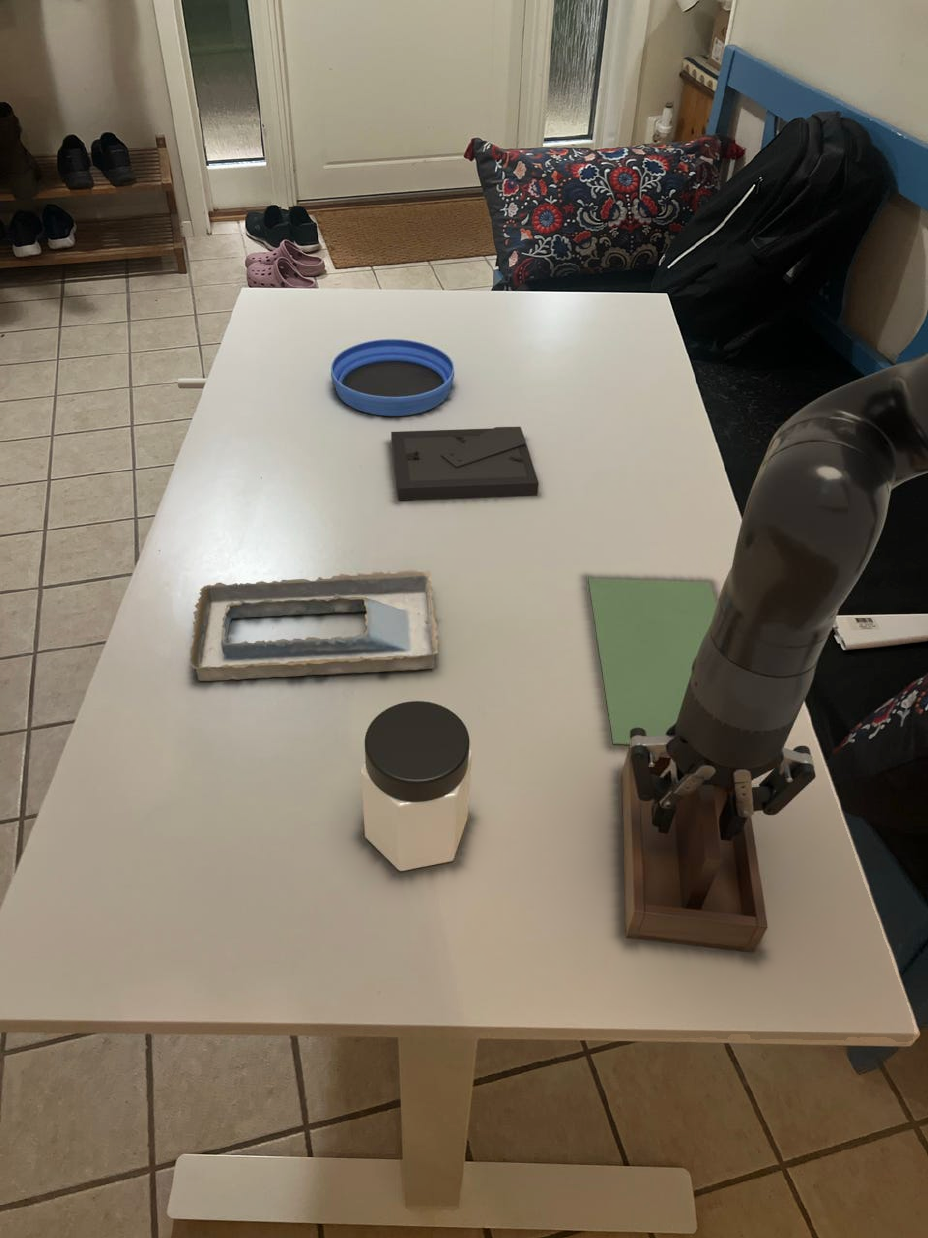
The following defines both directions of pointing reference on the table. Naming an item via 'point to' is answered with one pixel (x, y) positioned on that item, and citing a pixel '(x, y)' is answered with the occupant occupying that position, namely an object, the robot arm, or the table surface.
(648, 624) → the mat
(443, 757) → the jar
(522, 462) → the picture frame
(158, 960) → the table surface
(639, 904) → the cutlery caddy
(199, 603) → the picture frame
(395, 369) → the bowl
